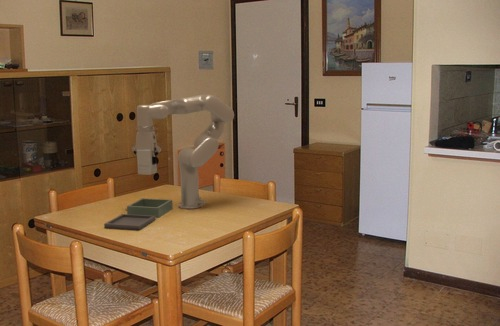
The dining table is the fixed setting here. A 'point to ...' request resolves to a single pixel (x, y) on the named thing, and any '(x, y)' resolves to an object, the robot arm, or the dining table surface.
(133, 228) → the tray
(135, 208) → the green open box
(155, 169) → the supplement box
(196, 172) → the robot arm
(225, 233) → the dining table surface
